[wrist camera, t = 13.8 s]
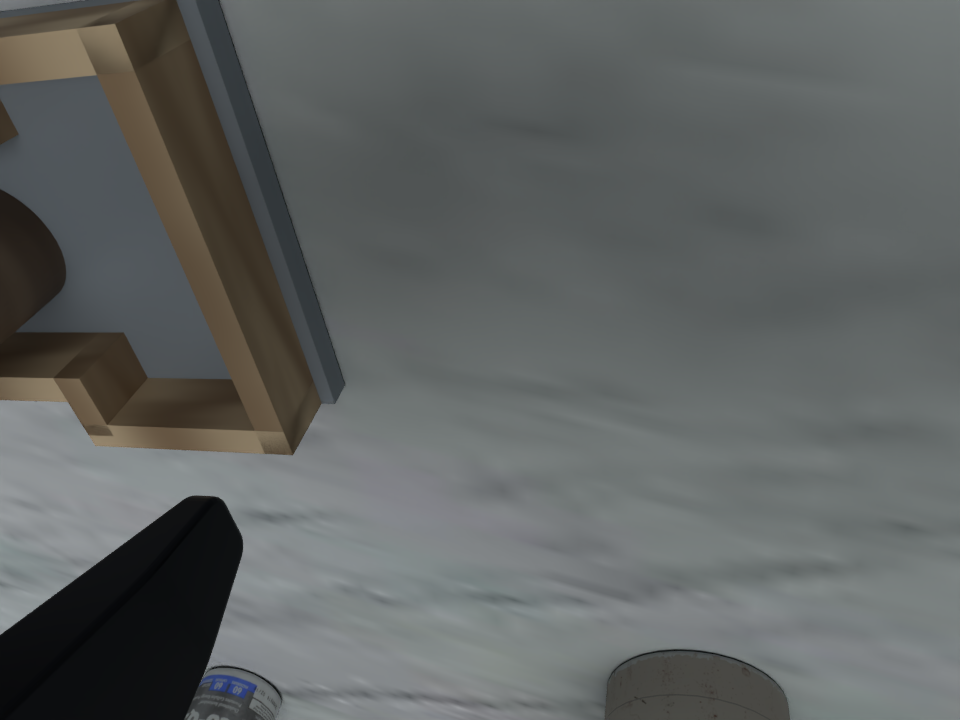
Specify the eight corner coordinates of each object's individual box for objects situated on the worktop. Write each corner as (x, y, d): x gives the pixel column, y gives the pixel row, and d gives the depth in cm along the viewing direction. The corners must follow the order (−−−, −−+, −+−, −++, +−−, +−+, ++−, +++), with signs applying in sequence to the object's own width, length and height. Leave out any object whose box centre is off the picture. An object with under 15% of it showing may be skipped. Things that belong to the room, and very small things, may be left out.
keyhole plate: (212, -16, 19) (134, 21, 16) (344, 385, 26) (307, 455, 24) (-216, 40, 22) (-338, 78, 20) (11, 378, 30) (-54, 439, 27)
